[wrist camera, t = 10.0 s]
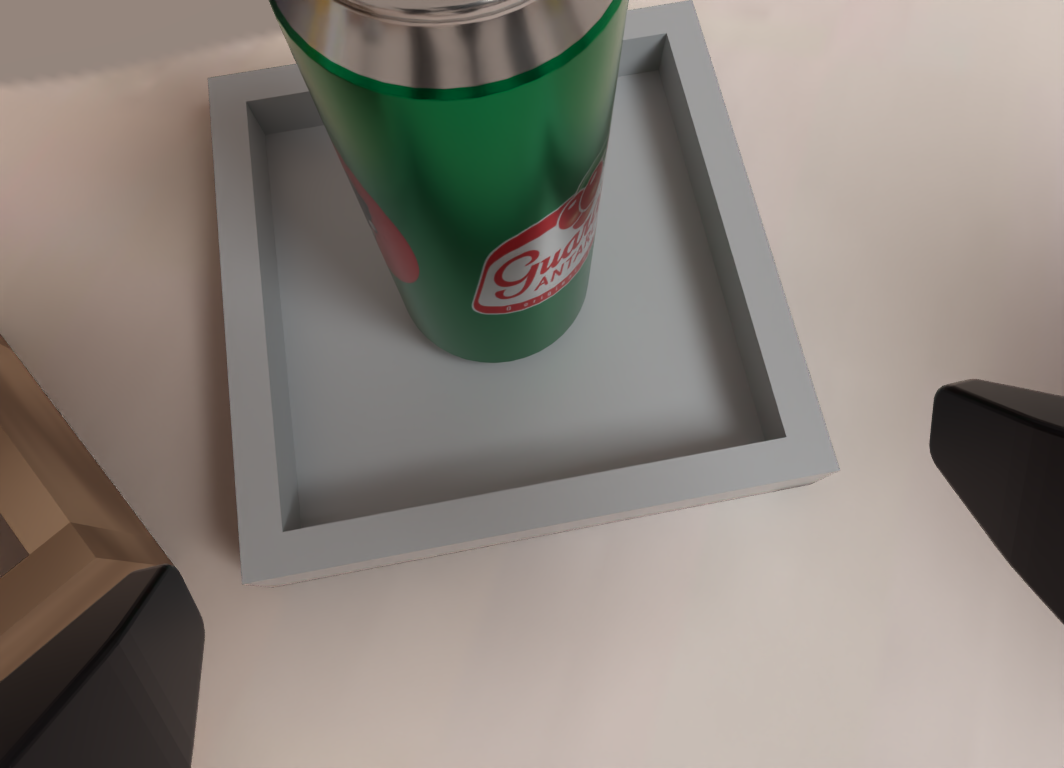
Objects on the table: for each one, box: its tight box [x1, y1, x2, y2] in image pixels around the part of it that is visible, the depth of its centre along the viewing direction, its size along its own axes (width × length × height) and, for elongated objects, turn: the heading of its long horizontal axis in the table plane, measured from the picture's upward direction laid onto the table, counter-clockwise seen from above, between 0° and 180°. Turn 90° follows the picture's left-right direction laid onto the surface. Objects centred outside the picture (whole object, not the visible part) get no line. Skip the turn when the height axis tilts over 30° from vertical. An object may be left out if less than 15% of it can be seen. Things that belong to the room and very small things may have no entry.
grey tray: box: [208, 0, 840, 587], centre depth 20 cm, size 14×14×2 cm
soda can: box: [269, 0, 629, 363], centre depth 15 cm, size 5×5×12 cm
